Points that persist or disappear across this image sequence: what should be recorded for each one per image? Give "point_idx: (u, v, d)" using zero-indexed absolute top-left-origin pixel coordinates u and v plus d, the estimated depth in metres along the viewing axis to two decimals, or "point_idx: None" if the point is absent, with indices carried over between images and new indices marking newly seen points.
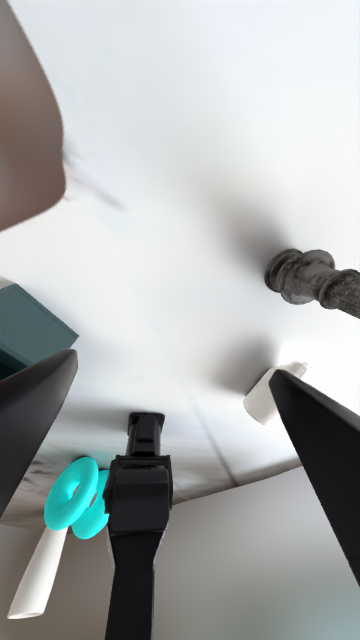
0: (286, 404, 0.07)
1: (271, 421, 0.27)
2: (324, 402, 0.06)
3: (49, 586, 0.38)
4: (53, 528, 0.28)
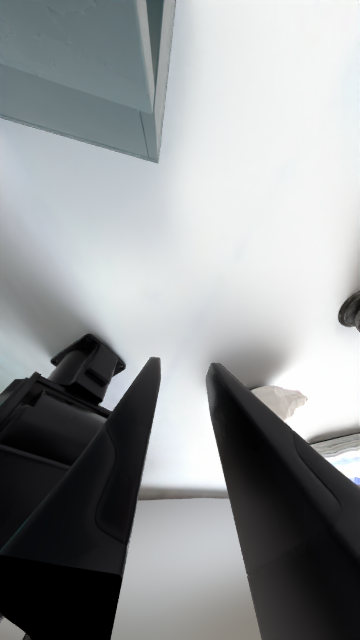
0: (214, 400, 0.07)
1: None
2: (241, 397, 0.06)
3: None
4: None
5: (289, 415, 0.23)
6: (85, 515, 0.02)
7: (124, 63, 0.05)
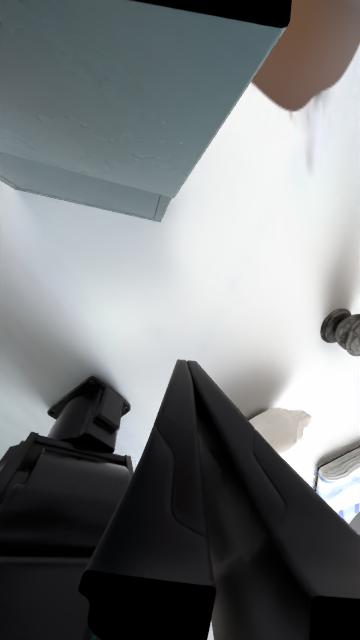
0: None
1: None
2: (208, 395, 0.05)
3: None
4: None
5: (299, 437, 0.23)
6: (163, 511, 0.03)
7: (171, 177, 0.07)
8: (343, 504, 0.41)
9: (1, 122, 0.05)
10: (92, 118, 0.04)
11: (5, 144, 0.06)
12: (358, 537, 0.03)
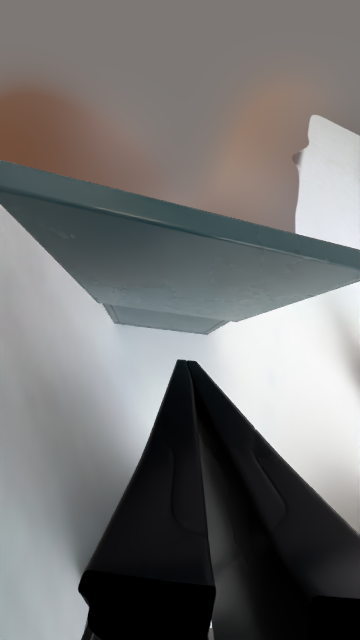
0: None
1: None
2: (208, 395, 0.05)
3: None
4: None
5: None
6: (163, 511, 0.03)
7: (249, 314, 0.12)
8: None
9: (177, 302, 0.11)
10: (234, 300, 0.09)
11: (159, 307, 0.12)
12: (359, 537, 0.03)
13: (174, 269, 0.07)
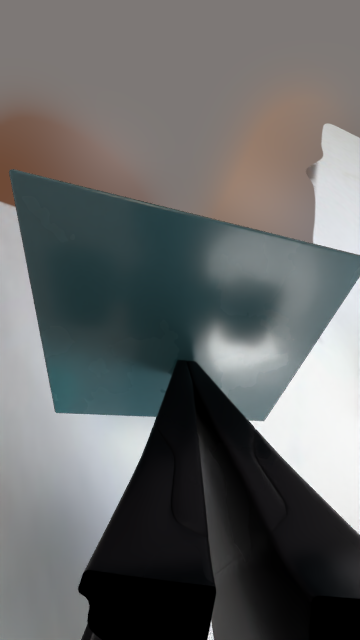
0: None
1: None
2: (208, 395, 0.05)
3: None
4: None
5: None
6: (163, 511, 0.03)
7: (276, 387, 0.09)
8: None
9: None
10: (252, 350, 0.07)
11: (152, 401, 0.08)
12: (358, 536, 0.03)
13: (178, 285, 0.06)
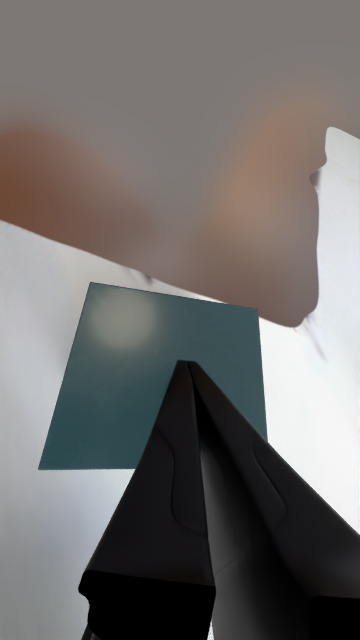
0: None
1: None
2: (208, 395, 0.05)
3: None
4: None
5: None
6: (163, 511, 0.03)
7: (257, 410, 0.10)
8: None
9: None
10: (220, 369, 0.10)
11: (147, 439, 0.08)
12: (359, 537, 0.03)
13: (162, 325, 0.10)
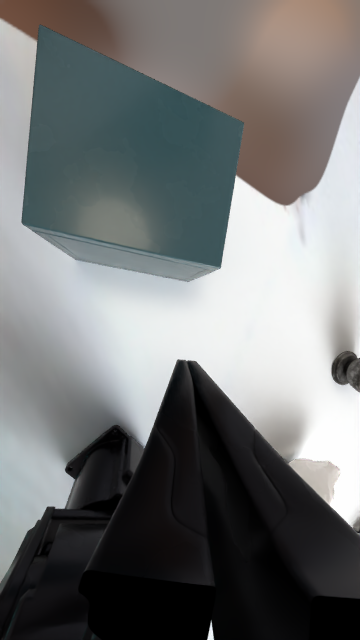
0: None
1: None
2: (208, 395, 0.05)
3: None
4: None
5: (331, 495, 0.21)
6: (163, 511, 0.03)
7: (219, 224, 0.11)
8: None
9: (139, 194, 0.10)
10: (191, 178, 0.10)
11: (117, 222, 0.10)
12: (359, 537, 0.03)
13: (133, 113, 0.09)
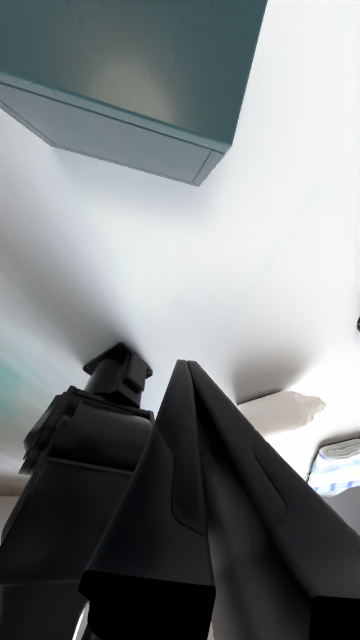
0: None
1: None
2: (208, 395, 0.05)
3: None
4: None
5: (309, 420, 0.24)
6: (163, 511, 0.03)
7: (242, 39, 0.06)
8: (337, 479, 0.44)
9: None
10: None
11: (59, 38, 0.06)
12: (358, 536, 0.03)
13: None
